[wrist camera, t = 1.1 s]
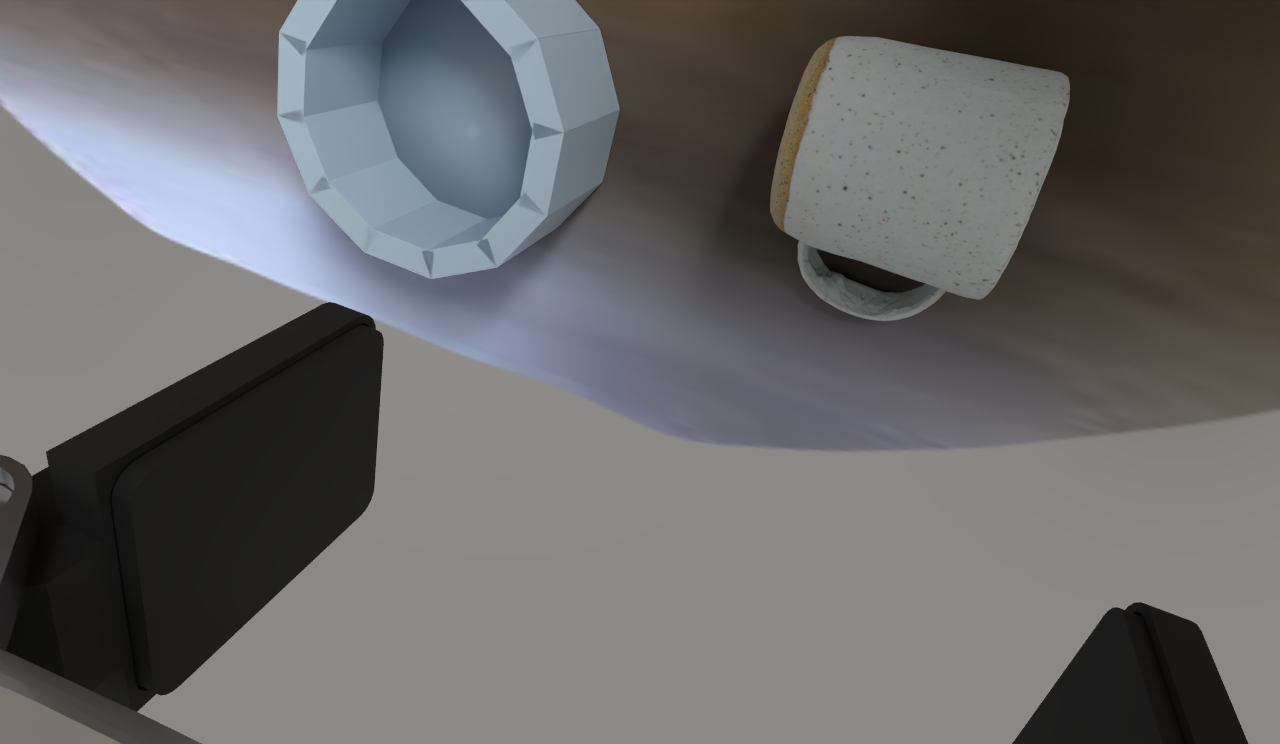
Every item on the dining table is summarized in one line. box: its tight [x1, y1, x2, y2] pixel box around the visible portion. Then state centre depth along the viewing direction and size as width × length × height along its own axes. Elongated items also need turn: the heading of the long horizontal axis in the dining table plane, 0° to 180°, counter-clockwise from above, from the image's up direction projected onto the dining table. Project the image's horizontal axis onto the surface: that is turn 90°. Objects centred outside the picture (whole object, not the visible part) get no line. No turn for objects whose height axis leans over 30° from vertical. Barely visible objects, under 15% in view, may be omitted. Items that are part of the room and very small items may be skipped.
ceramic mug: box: [770, 36, 1070, 321], centre depth 28 cm, size 11×8×8 cm
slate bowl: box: [277, 0, 620, 279], centre depth 33 cm, size 12×12×6 cm
